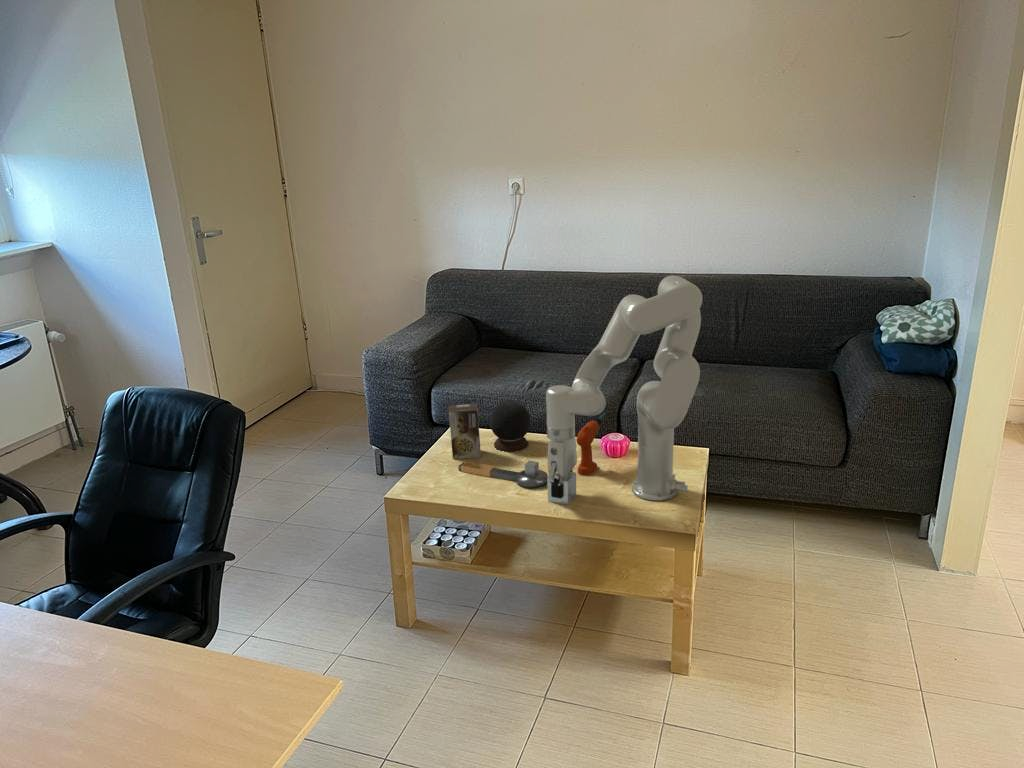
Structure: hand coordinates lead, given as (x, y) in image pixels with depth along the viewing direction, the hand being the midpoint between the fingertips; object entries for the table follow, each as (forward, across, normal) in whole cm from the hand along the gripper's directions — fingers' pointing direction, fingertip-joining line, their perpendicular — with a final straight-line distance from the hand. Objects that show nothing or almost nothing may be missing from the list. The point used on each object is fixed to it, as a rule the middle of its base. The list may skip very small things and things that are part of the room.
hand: (562, 491), depth 201 cm
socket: (+2, 0, 0) cm, 2 cm away
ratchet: (+2, +6, +22) cm, 23 cm away
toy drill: (+2, +24, 0) cm, 24 cm away
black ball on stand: (+2, +28, +30) cm, 41 cm away
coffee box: (+2, +16, +40) cm, 43 cm away
